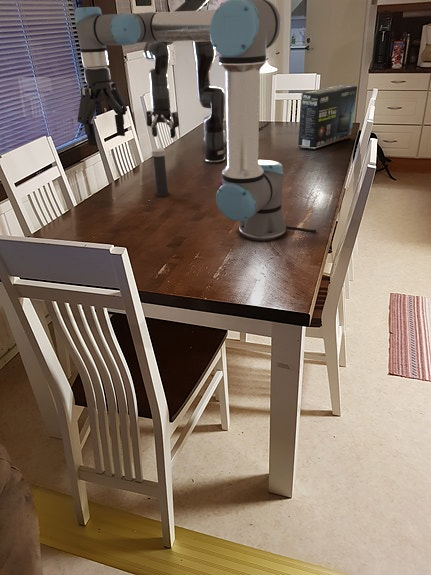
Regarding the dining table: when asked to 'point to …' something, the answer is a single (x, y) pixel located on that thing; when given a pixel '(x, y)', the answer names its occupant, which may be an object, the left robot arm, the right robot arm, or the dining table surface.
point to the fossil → (224, 137)
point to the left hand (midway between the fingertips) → (164, 137)
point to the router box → (326, 115)
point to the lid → (158, 152)
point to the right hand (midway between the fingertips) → (107, 140)
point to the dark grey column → (160, 175)
